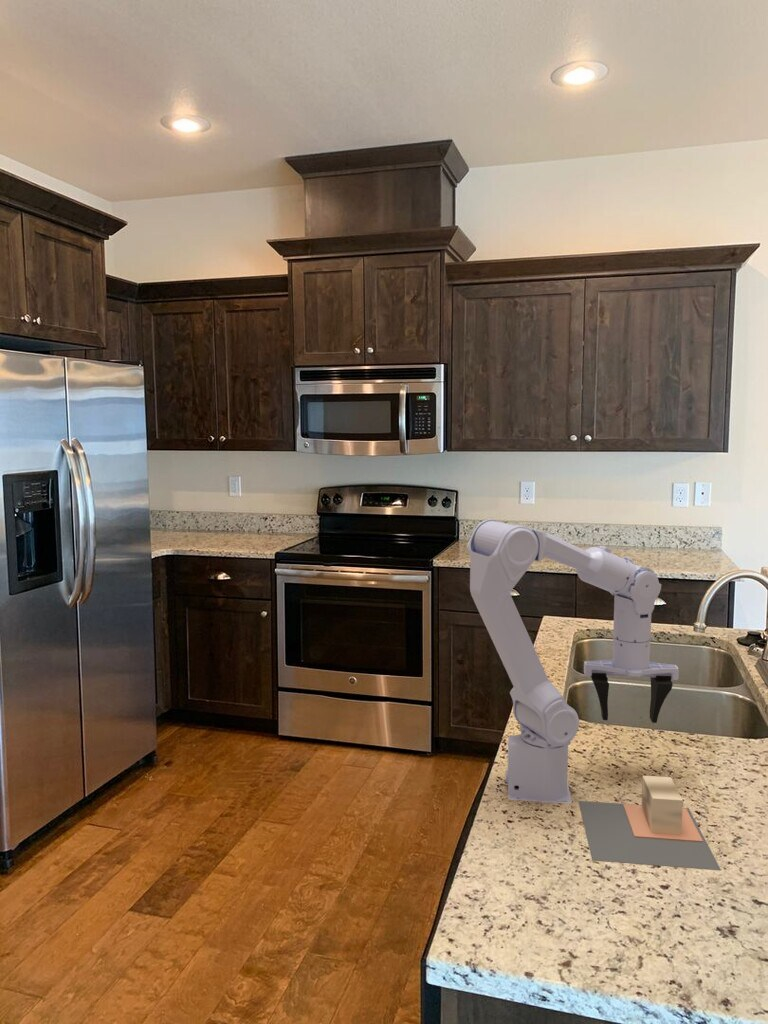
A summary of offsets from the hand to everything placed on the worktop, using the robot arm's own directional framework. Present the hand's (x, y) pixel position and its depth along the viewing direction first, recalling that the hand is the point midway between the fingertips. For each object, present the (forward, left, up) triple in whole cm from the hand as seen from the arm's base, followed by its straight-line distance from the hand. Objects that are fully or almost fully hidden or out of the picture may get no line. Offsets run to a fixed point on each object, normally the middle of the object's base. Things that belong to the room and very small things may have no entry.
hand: (628, 719), depth 122 cm
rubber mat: (-1, -19, -9) cm, 21 cm away
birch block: (+2, -16, -9) cm, 18 cm away
